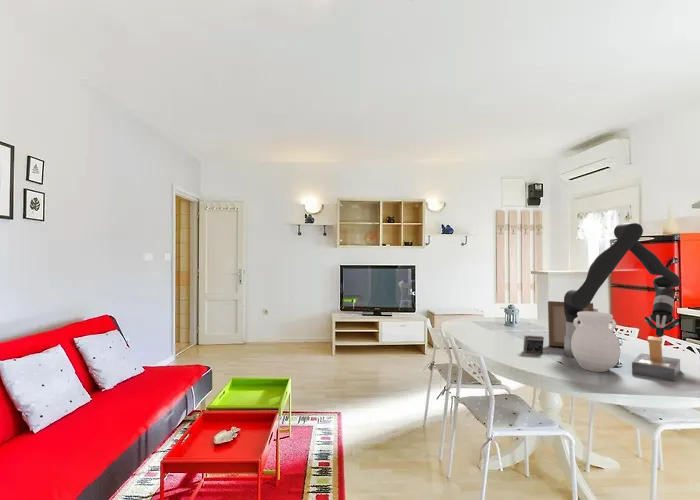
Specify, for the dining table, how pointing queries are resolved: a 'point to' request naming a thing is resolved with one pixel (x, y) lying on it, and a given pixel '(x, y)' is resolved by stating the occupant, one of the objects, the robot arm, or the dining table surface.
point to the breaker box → (656, 367)
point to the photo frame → (558, 322)
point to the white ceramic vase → (595, 341)
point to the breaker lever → (655, 348)
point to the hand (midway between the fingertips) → (659, 335)
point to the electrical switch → (533, 344)
